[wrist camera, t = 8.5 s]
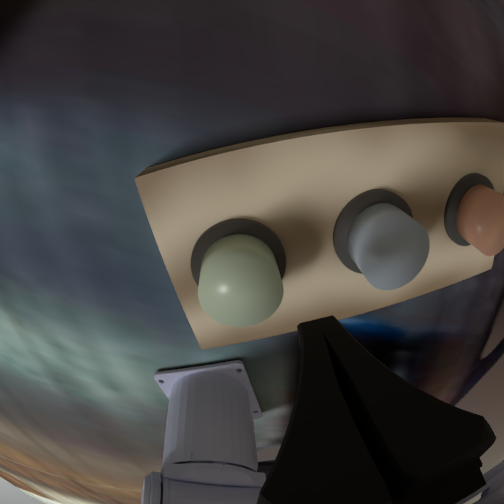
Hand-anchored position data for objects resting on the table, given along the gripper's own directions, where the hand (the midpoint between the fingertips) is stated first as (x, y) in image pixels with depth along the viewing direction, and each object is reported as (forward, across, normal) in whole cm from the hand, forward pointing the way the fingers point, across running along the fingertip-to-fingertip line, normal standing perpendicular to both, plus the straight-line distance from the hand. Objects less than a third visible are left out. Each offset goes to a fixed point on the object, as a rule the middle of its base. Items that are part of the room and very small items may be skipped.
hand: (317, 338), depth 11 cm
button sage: (+6, +3, 0) cm, 7 cm away
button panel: (+9, -5, 0) cm, 11 cm away
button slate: (+6, -5, 0) cm, 8 cm away
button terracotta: (+6, -13, 0) cm, 15 cm away
